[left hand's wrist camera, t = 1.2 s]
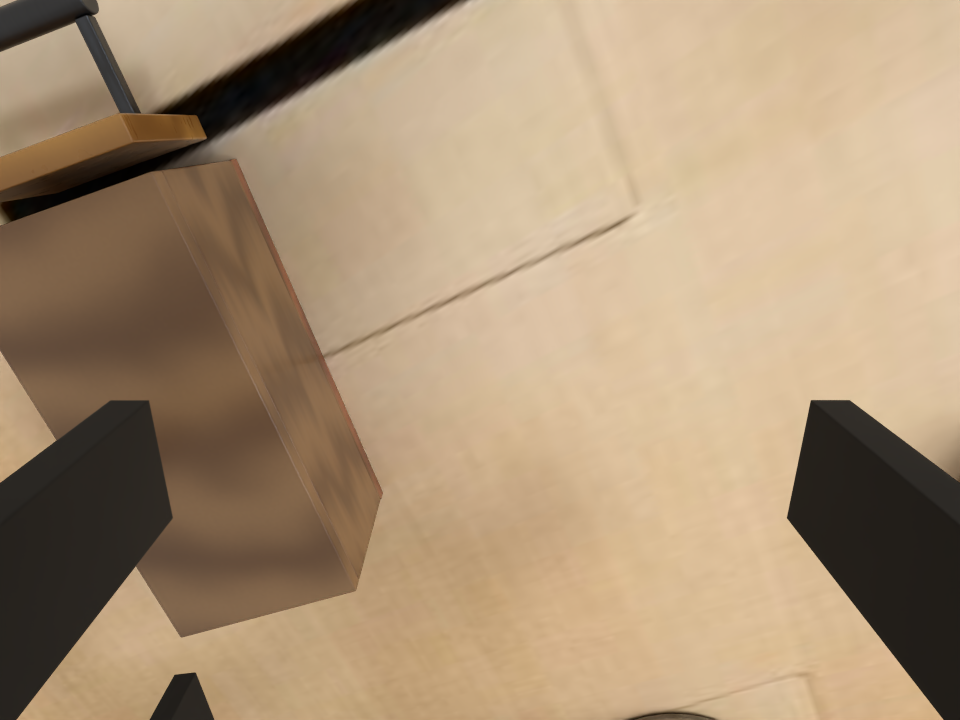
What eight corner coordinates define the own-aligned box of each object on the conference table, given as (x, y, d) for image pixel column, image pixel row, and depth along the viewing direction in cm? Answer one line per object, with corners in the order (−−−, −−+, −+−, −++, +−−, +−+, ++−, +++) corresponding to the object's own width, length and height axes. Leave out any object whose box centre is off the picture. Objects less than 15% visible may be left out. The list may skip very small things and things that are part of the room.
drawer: (-14, 62, 31) (-155, 45, 24) (145, 0, 30) (46, -37, 23) (220, 492, 40) (166, 570, 33) (350, 454, 39) (321, 526, 32)
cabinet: (70, 217, 35) (-66, 248, 26) (236, 159, 34) (151, 170, 25) (242, 532, 42) (180, 638, 33) (382, 492, 41) (356, 591, 32)
